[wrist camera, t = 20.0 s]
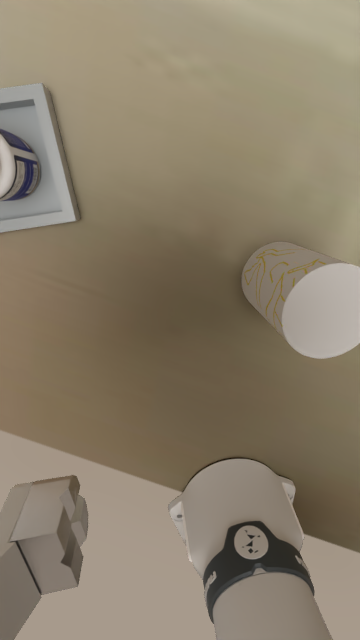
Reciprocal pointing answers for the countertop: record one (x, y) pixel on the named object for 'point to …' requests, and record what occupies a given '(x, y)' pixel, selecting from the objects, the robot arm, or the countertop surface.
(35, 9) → the countertop surface
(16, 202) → the tray
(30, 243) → the countertop surface
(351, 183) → the countertop surface
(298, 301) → the cup
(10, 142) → the pill bottle
